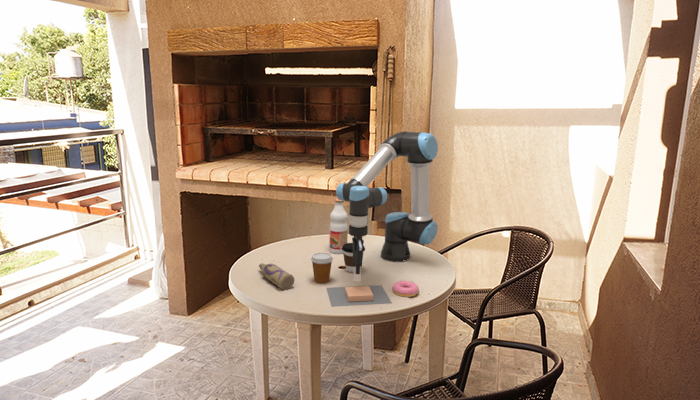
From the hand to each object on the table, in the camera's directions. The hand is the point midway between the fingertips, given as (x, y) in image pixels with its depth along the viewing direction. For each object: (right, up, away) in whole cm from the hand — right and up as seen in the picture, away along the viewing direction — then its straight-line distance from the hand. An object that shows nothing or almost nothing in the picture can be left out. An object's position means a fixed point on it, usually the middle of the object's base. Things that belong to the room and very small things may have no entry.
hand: (356, 280), depth 184 cm
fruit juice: (-9, +6, +54) cm, 55 cm away
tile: (0, -4, +1) cm, 4 cm away
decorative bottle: (-35, -3, +14) cm, 38 cm away
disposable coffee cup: (-15, -3, +13) cm, 20 cm away
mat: (0, -6, -1) cm, 7 cm away
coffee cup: (-1, 0, +28) cm, 28 cm away
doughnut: (+20, -6, +4) cm, 22 cm away
